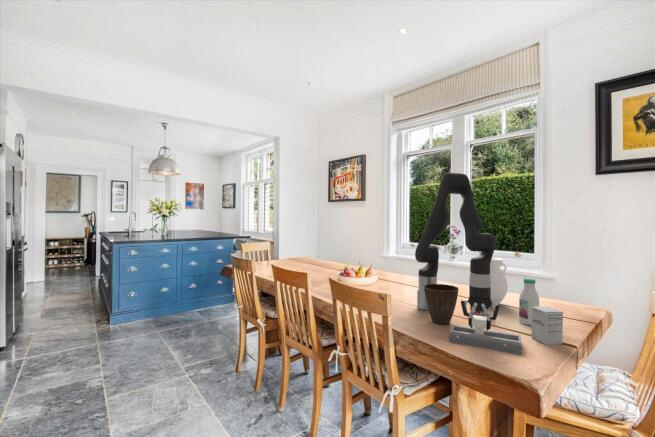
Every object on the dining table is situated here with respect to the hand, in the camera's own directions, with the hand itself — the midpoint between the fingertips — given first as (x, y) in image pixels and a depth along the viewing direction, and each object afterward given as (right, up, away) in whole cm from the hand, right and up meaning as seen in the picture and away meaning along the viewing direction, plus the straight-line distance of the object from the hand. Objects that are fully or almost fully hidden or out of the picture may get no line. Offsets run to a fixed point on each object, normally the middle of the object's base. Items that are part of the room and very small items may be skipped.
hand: (479, 328), depth 126 cm
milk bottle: (+32, -5, +21) cm, 39 cm away
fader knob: (0, -3, 0) cm, 3 cm away
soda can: (+14, -5, +32) cm, 36 cm away
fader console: (+2, -5, -1) cm, 5 cm away
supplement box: (+26, -5, 0) cm, 27 cm away
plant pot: (-7, -5, +22) cm, 24 cm away
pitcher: (+30, -5, +53) cm, 61 cm away
